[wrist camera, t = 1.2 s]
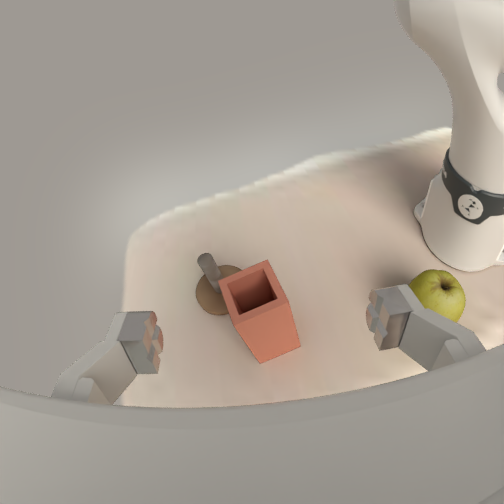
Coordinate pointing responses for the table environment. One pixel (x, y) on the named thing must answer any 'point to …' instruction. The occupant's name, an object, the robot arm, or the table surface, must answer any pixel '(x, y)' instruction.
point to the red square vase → (260, 311)
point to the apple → (439, 293)
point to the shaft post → (212, 285)
